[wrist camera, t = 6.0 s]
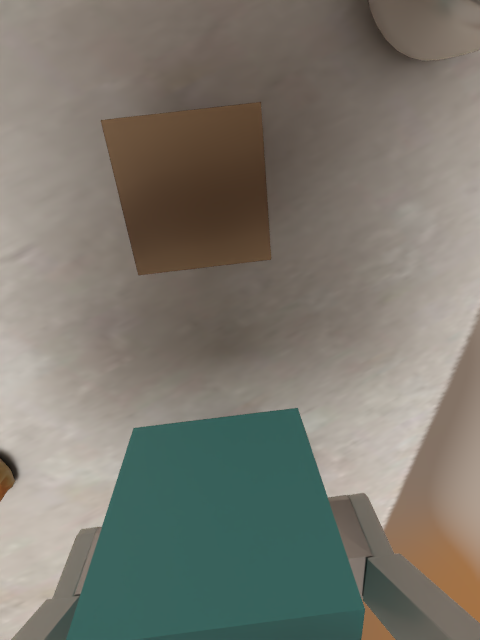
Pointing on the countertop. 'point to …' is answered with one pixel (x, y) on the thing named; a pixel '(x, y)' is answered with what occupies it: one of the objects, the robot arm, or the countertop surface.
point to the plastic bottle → (429, 26)
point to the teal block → (220, 539)
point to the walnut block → (192, 186)
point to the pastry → (5, 479)
